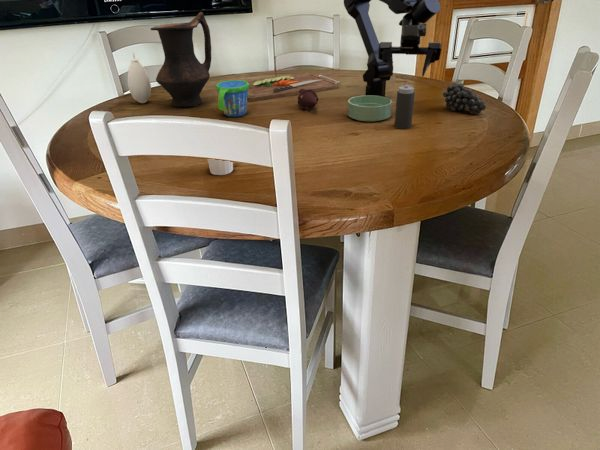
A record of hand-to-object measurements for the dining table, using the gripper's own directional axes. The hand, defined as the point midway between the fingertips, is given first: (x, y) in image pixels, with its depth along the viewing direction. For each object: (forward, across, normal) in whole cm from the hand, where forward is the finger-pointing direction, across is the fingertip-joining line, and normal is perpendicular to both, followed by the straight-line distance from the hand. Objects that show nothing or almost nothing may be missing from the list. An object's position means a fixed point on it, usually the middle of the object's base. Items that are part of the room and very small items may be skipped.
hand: (407, 75), depth 140 cm
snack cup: (+11, -56, +8) cm, 57 cm away
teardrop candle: (+4, -95, +15) cm, 96 cm away
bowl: (+8, -11, +11) cm, 18 cm away
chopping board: (-16, -49, +35) cm, 62 cm away
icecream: (+5, -32, +15) cm, 36 cm away
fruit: (+2, +19, +17) cm, 26 cm away
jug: (+4, -76, +16) cm, 78 cm away
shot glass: (+44, -44, -25) cm, 67 cm away
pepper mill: (+15, 0, +4) cm, 16 cm away
